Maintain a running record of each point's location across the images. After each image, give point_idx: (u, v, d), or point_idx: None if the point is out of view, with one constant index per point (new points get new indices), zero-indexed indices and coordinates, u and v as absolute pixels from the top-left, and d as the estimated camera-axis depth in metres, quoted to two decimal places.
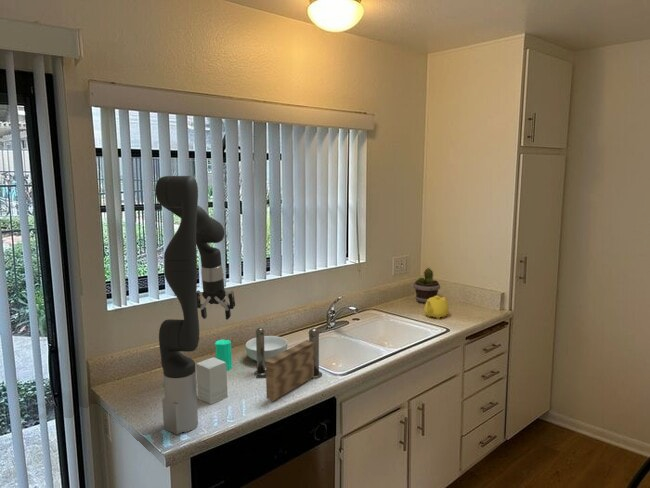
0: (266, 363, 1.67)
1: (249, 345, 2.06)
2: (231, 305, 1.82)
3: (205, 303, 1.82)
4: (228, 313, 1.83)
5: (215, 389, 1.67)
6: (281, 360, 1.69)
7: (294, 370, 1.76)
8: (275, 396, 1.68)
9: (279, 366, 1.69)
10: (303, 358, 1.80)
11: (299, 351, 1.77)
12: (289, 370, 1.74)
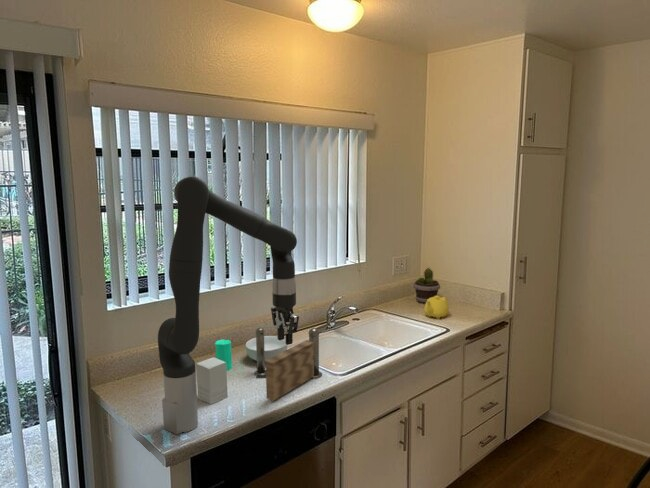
0: (266, 363, 1.67)
1: (249, 345, 2.06)
2: (289, 329, 1.59)
3: (276, 320, 1.64)
4: (288, 337, 1.61)
5: (215, 389, 1.67)
6: (281, 360, 1.69)
7: (294, 370, 1.76)
8: (275, 396, 1.68)
9: (279, 366, 1.69)
10: (303, 358, 1.80)
11: (299, 351, 1.77)
12: (289, 370, 1.74)
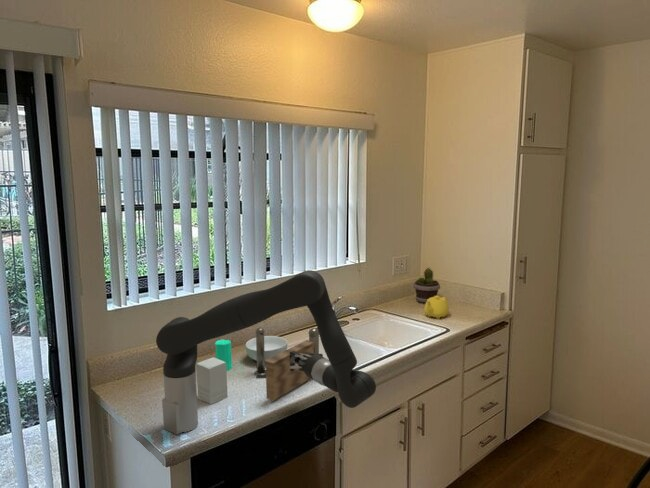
0: (266, 363, 1.67)
1: (249, 345, 2.06)
2: (292, 358, 1.60)
3: (306, 354, 1.62)
4: (292, 355, 1.64)
5: (215, 389, 1.67)
6: (281, 360, 1.69)
7: (294, 370, 1.76)
8: (275, 396, 1.68)
9: (279, 366, 1.69)
10: None
11: (299, 351, 1.77)
12: (289, 370, 1.74)
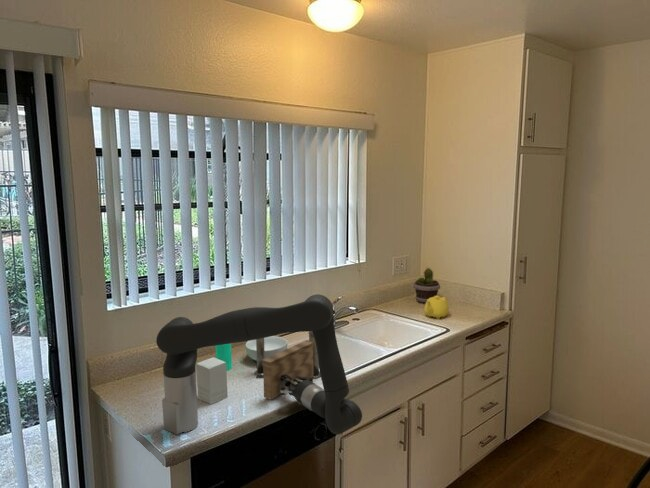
0: (263, 362, 1.68)
1: (249, 345, 2.06)
2: (283, 382, 1.66)
3: (296, 379, 1.67)
4: (284, 378, 1.70)
5: (215, 389, 1.67)
6: (278, 359, 1.69)
7: (292, 370, 1.76)
8: (272, 395, 1.69)
9: (276, 365, 1.69)
10: (302, 357, 1.80)
11: (298, 351, 1.77)
12: (287, 370, 1.74)
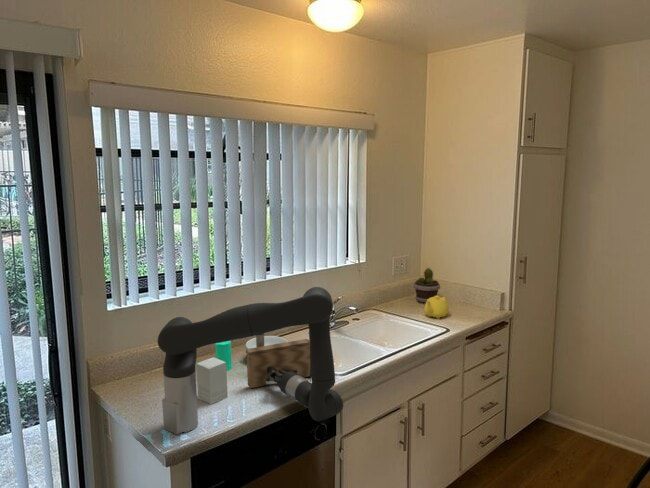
0: (246, 352, 1.77)
1: (249, 345, 2.06)
2: (269, 373, 1.72)
3: (281, 370, 1.74)
4: (269, 370, 1.76)
5: (215, 389, 1.67)
6: (261, 351, 1.76)
7: (280, 365, 1.81)
8: (253, 384, 1.77)
9: (258, 357, 1.77)
10: (293, 355, 1.83)
11: (287, 347, 1.81)
12: (273, 363, 1.80)
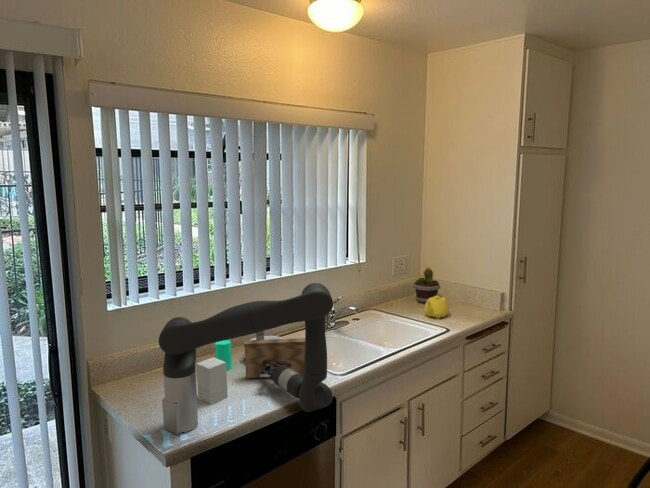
0: None
1: None
2: (263, 367, 1.78)
3: (276, 364, 1.79)
4: (264, 364, 1.82)
5: (215, 389, 1.67)
6: (256, 344, 1.83)
7: (276, 360, 1.85)
8: (248, 375, 1.85)
9: (254, 349, 1.84)
10: (290, 352, 1.85)
11: (283, 344, 1.84)
12: (269, 357, 1.85)
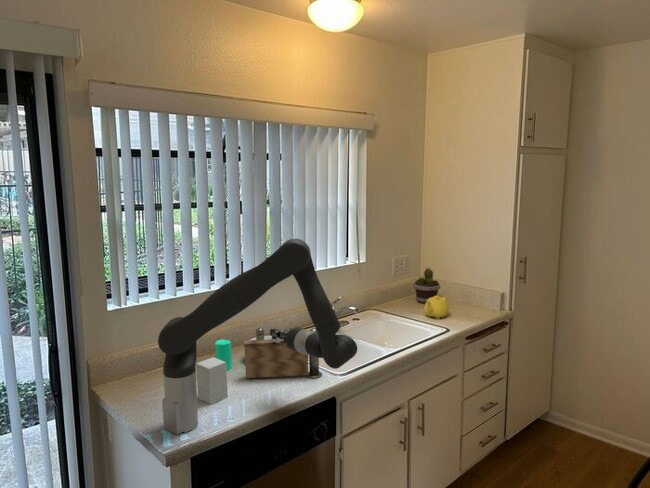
0: None
1: None
2: (274, 333, 1.67)
3: (286, 330, 1.68)
4: (273, 331, 1.71)
5: (215, 389, 1.67)
6: (256, 344, 1.83)
7: (276, 360, 1.85)
8: (248, 375, 1.85)
9: (254, 349, 1.84)
10: (290, 352, 1.85)
11: (283, 344, 1.84)
12: (269, 357, 1.85)
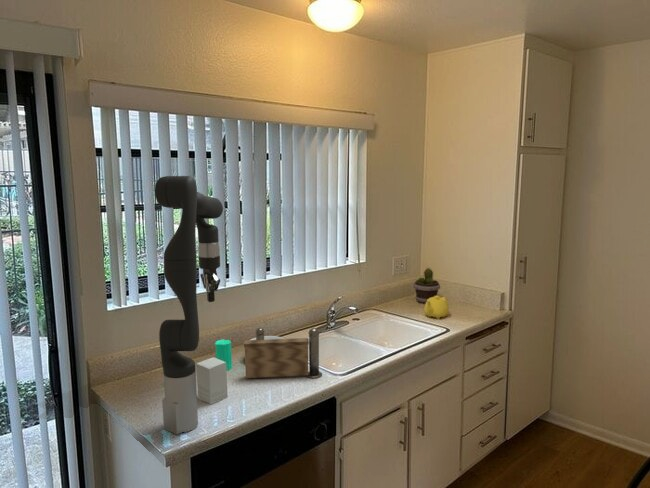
0: None
1: None
2: (210, 288, 1.79)
3: (204, 282, 1.82)
4: (210, 295, 1.82)
5: (215, 389, 1.67)
6: (256, 344, 1.83)
7: (276, 360, 1.85)
8: (248, 375, 1.85)
9: (254, 349, 1.84)
10: (290, 352, 1.85)
11: (283, 344, 1.84)
12: (269, 357, 1.85)
